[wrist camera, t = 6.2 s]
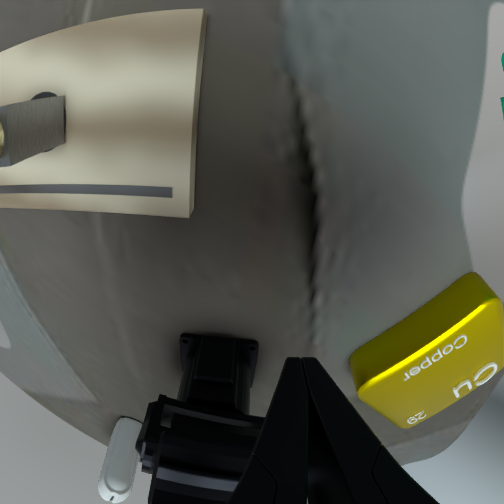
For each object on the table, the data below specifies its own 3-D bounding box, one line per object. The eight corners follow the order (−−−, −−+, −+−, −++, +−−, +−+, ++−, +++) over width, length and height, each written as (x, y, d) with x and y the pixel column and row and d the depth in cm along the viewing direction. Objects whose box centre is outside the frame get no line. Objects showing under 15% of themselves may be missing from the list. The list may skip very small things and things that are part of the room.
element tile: (475, 261, 20) (504, 293, 16) (493, 339, 26) (510, 367, 21) (339, 355, 25) (349, 397, 21) (395, 404, 31) (404, 435, 27)
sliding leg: (64, 143, 14) (-12, 177, 9) (31, 146, 14) (-42, 180, 8) (63, 95, 13) (-17, 110, 7) (29, 102, 13) (-48, 121, 7)
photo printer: (136, 444, 37) (121, 508, 27) (111, 434, 36) (93, 498, 26) (149, 424, 33) (131, 504, 22) (119, 412, 32) (96, 492, 21)
